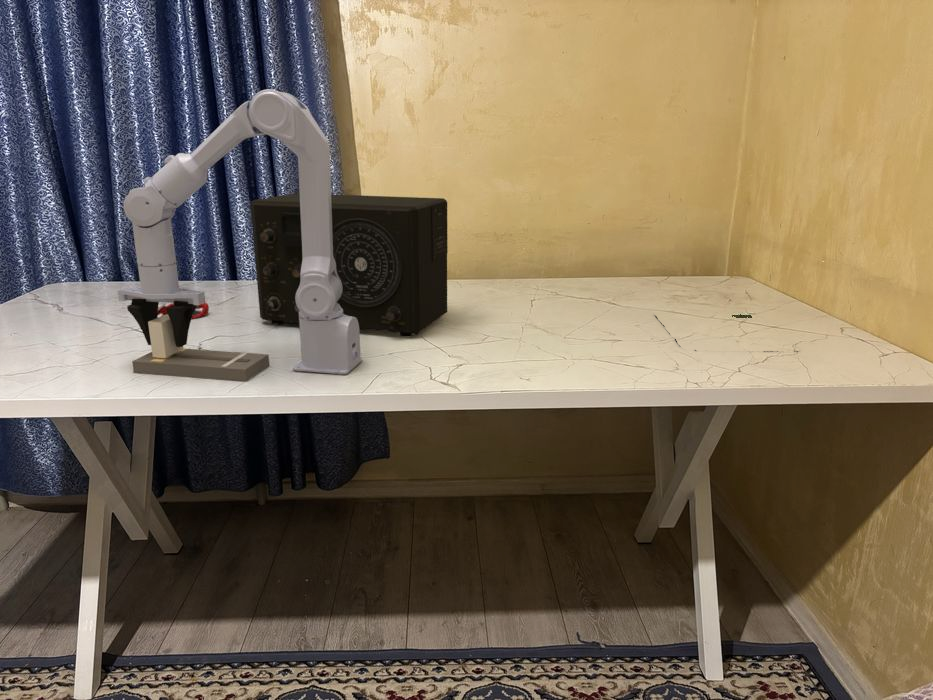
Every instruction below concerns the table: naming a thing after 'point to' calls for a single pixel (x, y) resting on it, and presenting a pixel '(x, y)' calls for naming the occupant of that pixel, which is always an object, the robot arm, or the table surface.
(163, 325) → the fader tab
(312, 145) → the robot arm
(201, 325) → the table surface
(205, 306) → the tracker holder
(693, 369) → the table surface
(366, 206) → the vintage radio
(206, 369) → the fader console
